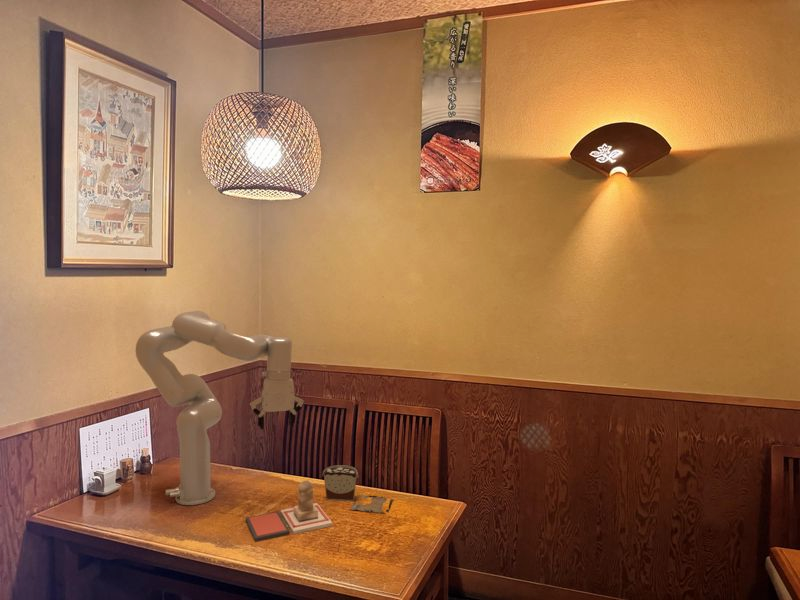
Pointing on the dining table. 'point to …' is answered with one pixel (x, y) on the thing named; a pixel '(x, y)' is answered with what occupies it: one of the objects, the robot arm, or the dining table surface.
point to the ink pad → (267, 526)
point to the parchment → (371, 504)
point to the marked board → (305, 525)
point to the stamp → (305, 503)
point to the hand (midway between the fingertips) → (276, 426)
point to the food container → (340, 482)
